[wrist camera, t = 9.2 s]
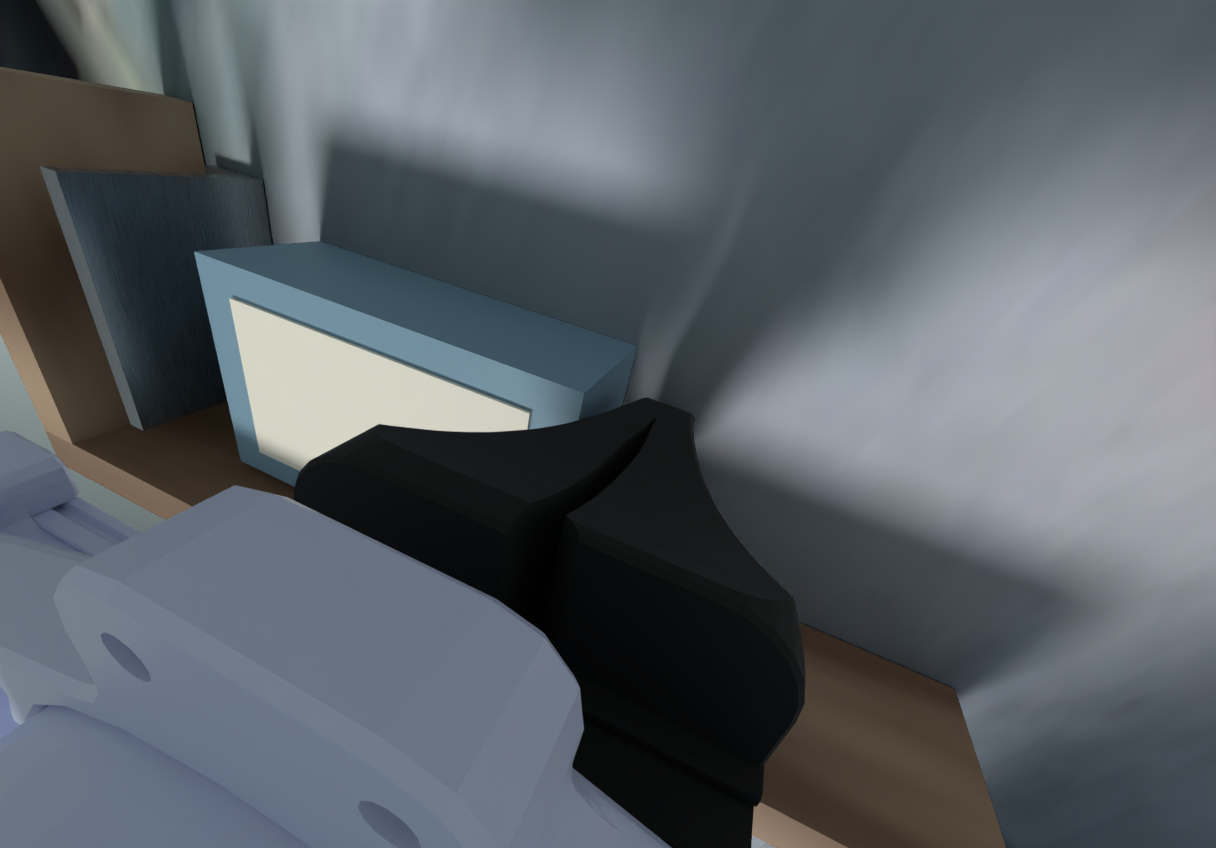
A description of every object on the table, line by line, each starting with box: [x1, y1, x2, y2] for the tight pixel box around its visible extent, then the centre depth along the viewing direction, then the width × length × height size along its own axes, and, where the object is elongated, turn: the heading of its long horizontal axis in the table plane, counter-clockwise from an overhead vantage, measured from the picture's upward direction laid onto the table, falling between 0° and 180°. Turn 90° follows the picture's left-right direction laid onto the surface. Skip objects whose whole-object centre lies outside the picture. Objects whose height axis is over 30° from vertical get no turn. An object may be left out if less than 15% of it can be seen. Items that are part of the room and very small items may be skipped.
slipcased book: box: [194, 241, 637, 487], centre depth 13 cm, size 6×10×4 cm, turn 77°
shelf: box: [0, 67, 1006, 848], centre depth 11 cm, size 10×26×5 cm, turn 77°
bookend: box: [40, 165, 272, 431], centre depth 13 cm, size 6×2×4 cm, turn 167°
